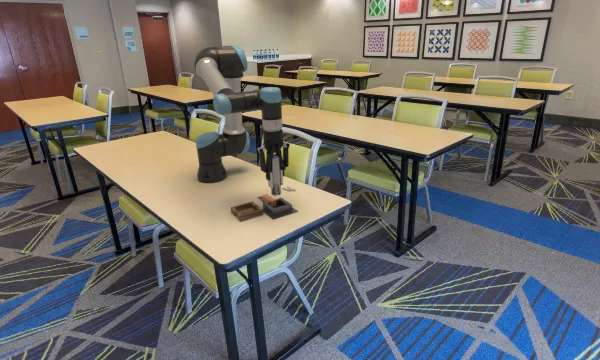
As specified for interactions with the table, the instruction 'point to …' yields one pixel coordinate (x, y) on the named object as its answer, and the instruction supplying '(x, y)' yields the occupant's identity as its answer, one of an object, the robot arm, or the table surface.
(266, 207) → the socket
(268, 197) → the orange rectangular bar
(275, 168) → the grey cylindrical peg
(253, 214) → the tray
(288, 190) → the pliers
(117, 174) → the table surface
